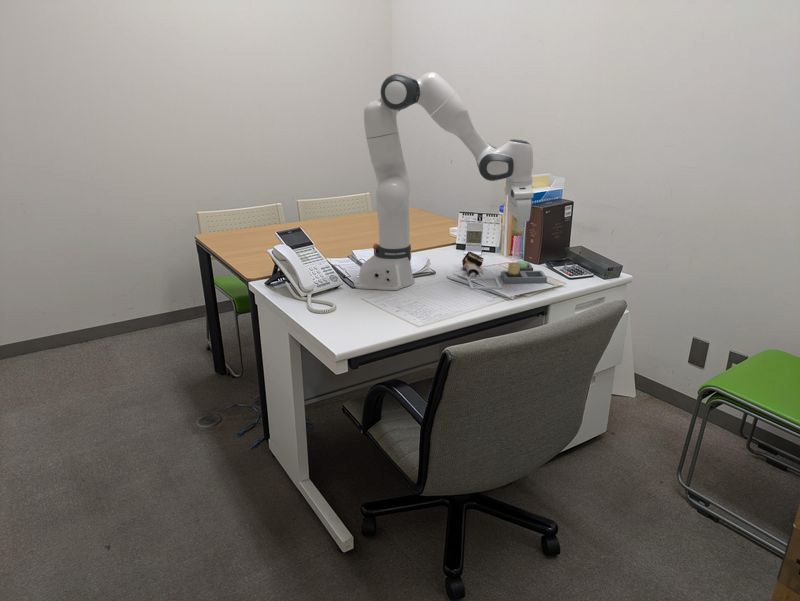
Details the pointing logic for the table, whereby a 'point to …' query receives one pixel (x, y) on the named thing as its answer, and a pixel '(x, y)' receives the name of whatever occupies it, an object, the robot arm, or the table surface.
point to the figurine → (472, 264)
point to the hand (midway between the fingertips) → (517, 228)
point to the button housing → (529, 268)
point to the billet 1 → (514, 224)
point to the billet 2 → (513, 269)
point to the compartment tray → (524, 278)
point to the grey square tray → (485, 279)
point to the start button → (522, 264)
